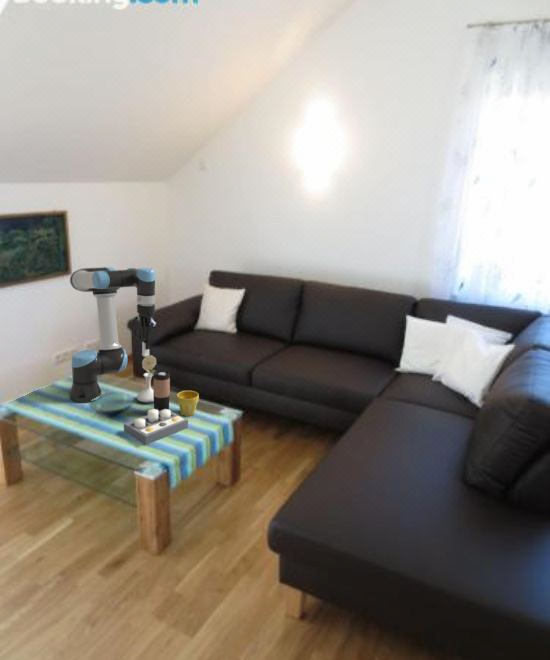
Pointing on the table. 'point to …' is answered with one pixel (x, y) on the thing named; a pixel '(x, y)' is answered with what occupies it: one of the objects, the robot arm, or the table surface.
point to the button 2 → (152, 416)
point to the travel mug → (161, 390)
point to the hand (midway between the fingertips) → (145, 355)
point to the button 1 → (139, 423)
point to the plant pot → (187, 402)
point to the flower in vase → (147, 379)
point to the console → (155, 435)
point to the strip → (162, 425)
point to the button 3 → (165, 413)
